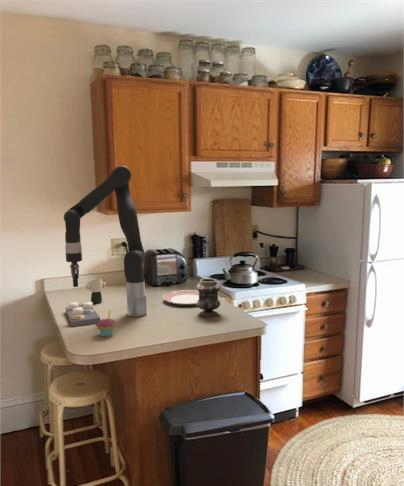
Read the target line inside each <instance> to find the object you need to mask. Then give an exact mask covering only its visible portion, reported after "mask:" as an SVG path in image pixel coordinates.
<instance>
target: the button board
mask: <svg viewBox="0 0 404 486" xmlns="http://www.w3.org/2000/svg"><path fill="white" fill-rule="evenodd" d="M78 307H82V308H83V304H82V305H78ZM65 313H66V314H65V315H66V316H67V318H68V320H69V322H70V325H71V326H72V327H73V328H74V327H79V326H80V327H81V326H88V325H94V324H95V325H96V324H97V322H99V321H100V320H101V317H100V315H99V314H98V312H97V311H96V310H95V308H94V307H93V308H91V309H83V314H81V315H73V309H69V306H67V307H65Z"/></svg>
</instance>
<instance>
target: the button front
mask: <svg viewBox="0 0 404 486" xmlns="http://www.w3.org/2000/svg"><path fill="white" fill-rule="evenodd" d="M81 314H83V308H82V307H76V308H73V315H81Z"/></svg>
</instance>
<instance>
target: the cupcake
mask: <svg viewBox="0 0 404 486" xmlns="http://www.w3.org/2000/svg"><path fill="white" fill-rule="evenodd" d="M110 316H111V309H109V310H108V314H107V318H103V319H100V321H99V322H97V323H95V327H96V329H97V330H98V331H99V332H100V336H101V337H110V336H112V335H113V332H114V329H115V328H116V327H117V322H116V321H115V320H114V319H112V318H110Z"/></svg>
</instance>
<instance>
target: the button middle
mask: <svg viewBox="0 0 404 486" xmlns="http://www.w3.org/2000/svg"><path fill="white" fill-rule="evenodd" d="M82 305H83V309H91V308H93V309H94V307H93V302H91V301H85V302H82Z"/></svg>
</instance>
